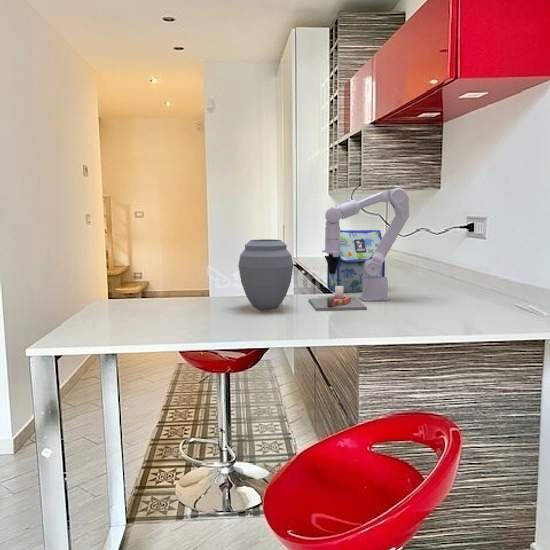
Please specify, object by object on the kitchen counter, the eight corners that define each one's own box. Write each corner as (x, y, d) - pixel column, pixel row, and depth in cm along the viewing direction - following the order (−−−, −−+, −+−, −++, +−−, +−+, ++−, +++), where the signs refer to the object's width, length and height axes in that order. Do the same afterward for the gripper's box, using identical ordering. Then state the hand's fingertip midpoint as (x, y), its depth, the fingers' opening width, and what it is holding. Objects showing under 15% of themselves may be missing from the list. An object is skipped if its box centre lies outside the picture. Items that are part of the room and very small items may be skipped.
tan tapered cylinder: (341, 305, 191) (341, 299, 191) (342, 306, 189) (342, 300, 189) (336, 305, 191) (337, 299, 191) (337, 306, 189) (337, 300, 189)
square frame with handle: (333, 299, 200) (333, 292, 200) (350, 301, 198) (351, 293, 197) (320, 306, 188) (320, 297, 188) (338, 307, 185) (338, 299, 185)
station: (354, 300, 206) (355, 282, 205) (366, 309, 187) (367, 290, 186) (308, 301, 205) (308, 283, 204) (316, 310, 186) (316, 291, 185)
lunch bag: (338, 294, 220) (338, 231, 217) (325, 288, 236) (325, 229, 233) (387, 292, 225) (389, 230, 222) (371, 286, 241) (372, 228, 238)
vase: (301, 305, 196) (301, 239, 193) (279, 315, 178) (279, 242, 175) (254, 302, 204) (253, 238, 201) (228, 311, 186) (227, 241, 183)
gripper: (319, 238, 214) (319, 271, 216) (325, 240, 199) (325, 276, 201) (336, 237, 214) (336, 271, 216) (344, 240, 200) (343, 276, 202)
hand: (332, 273), depth 209 cm, fingers closed
